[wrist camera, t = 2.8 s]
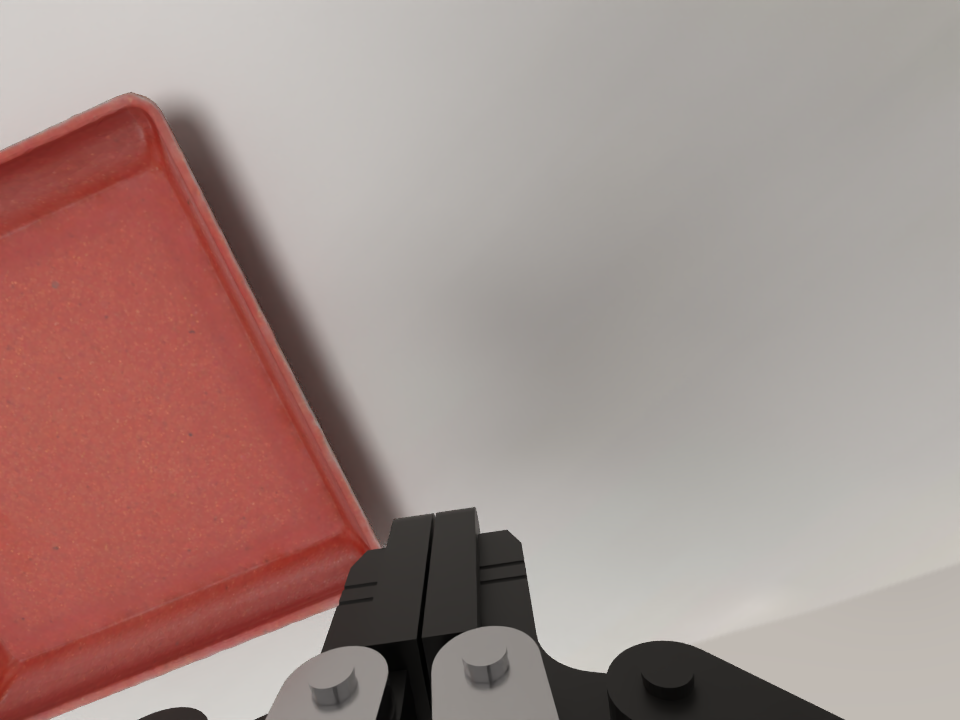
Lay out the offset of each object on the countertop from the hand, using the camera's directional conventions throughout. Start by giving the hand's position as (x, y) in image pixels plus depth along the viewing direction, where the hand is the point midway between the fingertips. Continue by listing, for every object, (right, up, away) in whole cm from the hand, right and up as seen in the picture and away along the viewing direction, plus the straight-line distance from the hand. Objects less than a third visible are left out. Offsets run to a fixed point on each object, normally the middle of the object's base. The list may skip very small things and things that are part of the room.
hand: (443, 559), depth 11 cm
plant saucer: (-14, +1, +13) cm, 19 cm away
